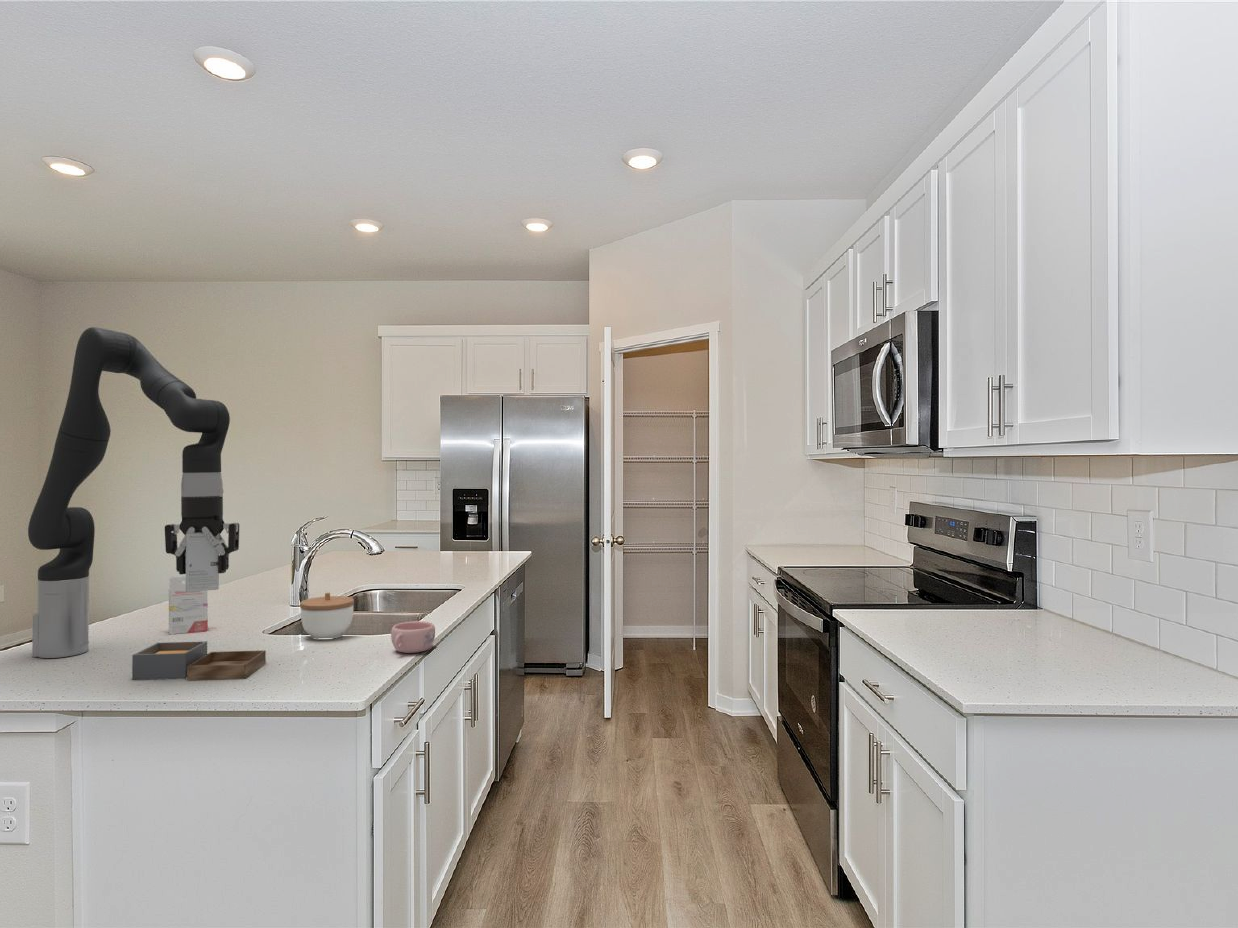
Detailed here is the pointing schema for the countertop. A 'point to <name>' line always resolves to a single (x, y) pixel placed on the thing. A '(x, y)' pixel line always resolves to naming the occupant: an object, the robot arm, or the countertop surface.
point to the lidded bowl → (326, 616)
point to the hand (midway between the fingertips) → (202, 573)
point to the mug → (412, 636)
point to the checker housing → (166, 660)
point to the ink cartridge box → (186, 608)
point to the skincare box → (201, 563)
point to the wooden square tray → (226, 665)
